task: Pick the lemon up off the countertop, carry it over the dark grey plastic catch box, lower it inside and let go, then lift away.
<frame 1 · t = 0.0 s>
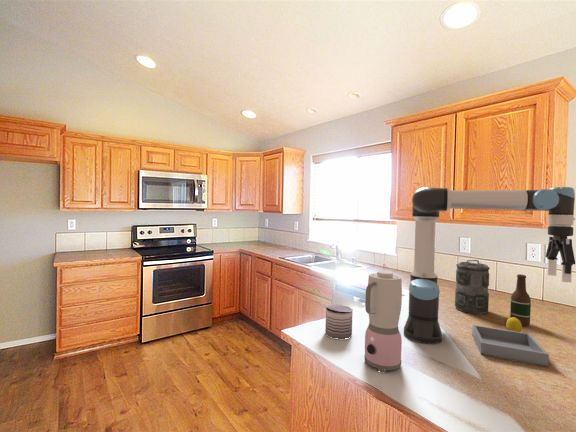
hand: (558, 278, 118), 28 cm above the worktop, tool pointing down, fingers open, 13 cm apart
catch box: (505, 349, 116), on the worktop
beer bottle: (519, 323, 145), on the worktop
can: (338, 334, 126), on the worktop
blender: (379, 365, 101), on the worktop
lemon: (513, 335, 131), on the worktop
canister: (471, 310, 164), on the worktop
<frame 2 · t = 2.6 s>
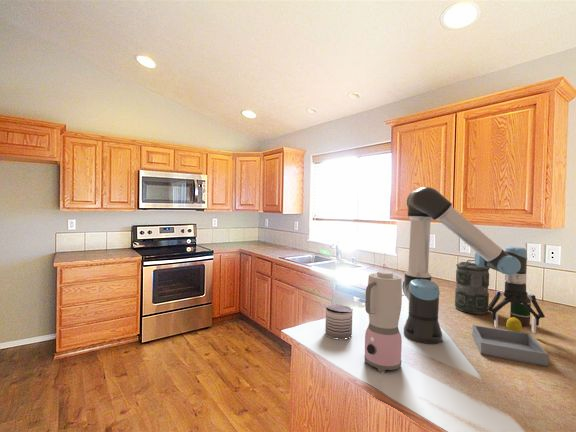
hand: (514, 329, 130), 2 cm above the worktop, tool pointing down, fingers open, 13 cm apart
nothing on the worktop moved.
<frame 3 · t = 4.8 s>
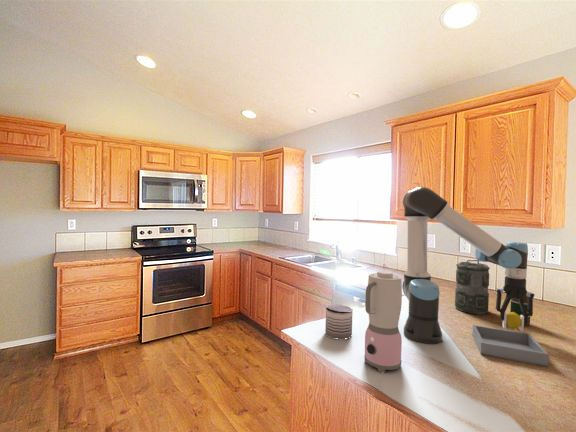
hand: (512, 328, 131), 3 cm above the worktop, tool pointing down, fingers closed on lemon, 5 cm apart
lemon: (512, 330, 131), point 2 cm above the worktop, touching gripper
everything else where it was.
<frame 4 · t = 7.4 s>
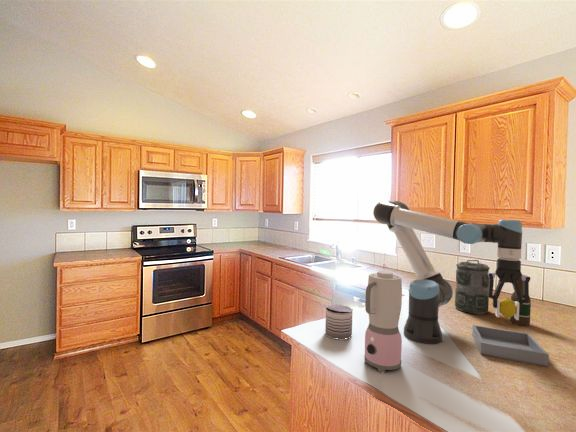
hand: (506, 317, 116), 13 cm above the worktop, tool pointing down, fingers closed on lemon, 5 cm apart
lemon: (506, 318, 116), point 12 cm above the worktop, touching gripper
everything else where it was.
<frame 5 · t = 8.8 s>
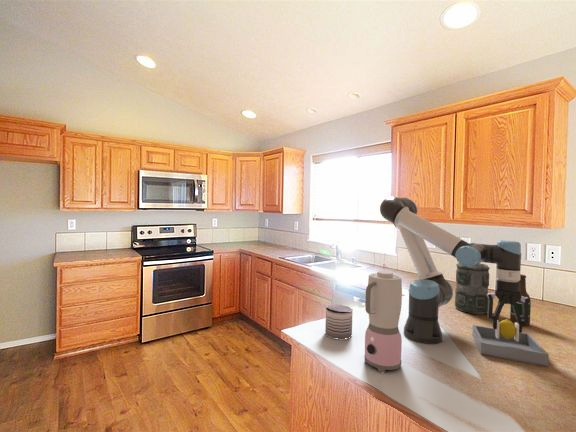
hand: (506, 338, 116), 4 cm above the worktop, tool pointing down, fingers closed on lemon, 5 cm apart
lemon: (506, 339, 116), point 4 cm above the worktop, touching gripper
everything else where it was.
when the fingers open (2 cm above the worktop, at t = 10.0 s): lemon stays where it is, resting on catch box.
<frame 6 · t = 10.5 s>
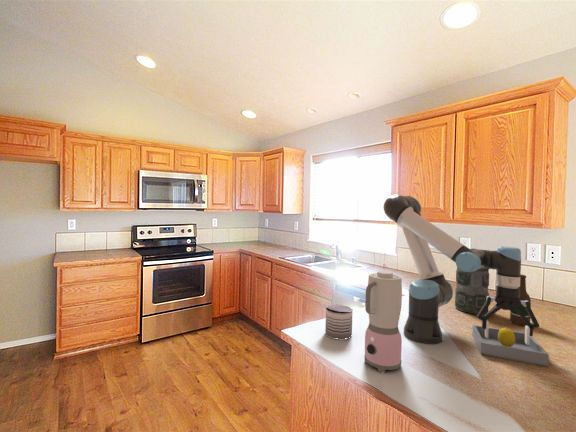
hand: (506, 340, 116), 4 cm above the worktop, tool pointing down, fingers open, 12 cm apart
lemon: (506, 348, 116), resting on catch box
everything else where it was.
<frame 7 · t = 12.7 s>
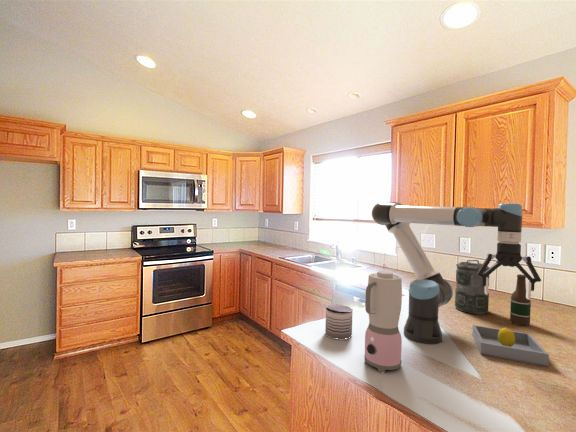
hand: (506, 296, 116), 21 cm above the worktop, tool pointing down, fingers open, 13 cm apart
nothing on the worktop moved.
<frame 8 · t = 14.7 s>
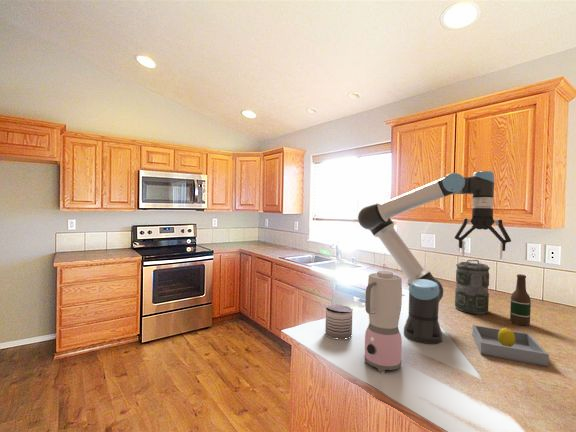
hand: (481, 257, 126), 35 cm above the worktop, tool pointing down, fingers open, 13 cm apart
nothing on the worktop moved.
at the end: lemon inside the target area on the catch box (0.1 cm from its centre), point 0.4 cm above the catch box's base; the gripper is holding nothing; beer bottle moved 0.2 cm from its start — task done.
